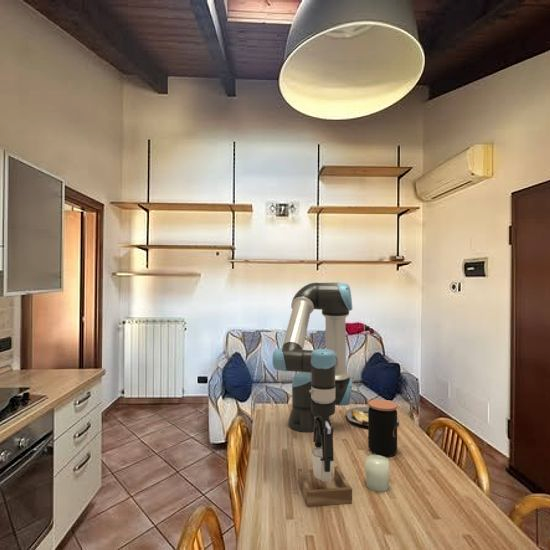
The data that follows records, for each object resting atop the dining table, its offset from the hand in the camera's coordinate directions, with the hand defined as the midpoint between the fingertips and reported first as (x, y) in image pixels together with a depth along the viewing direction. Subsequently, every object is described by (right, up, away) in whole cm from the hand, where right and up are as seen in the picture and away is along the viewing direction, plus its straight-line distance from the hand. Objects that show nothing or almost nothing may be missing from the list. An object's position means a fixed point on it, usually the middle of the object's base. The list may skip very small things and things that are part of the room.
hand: (322, 474), depth 112 cm
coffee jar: (+26, -6, +26) cm, 38 cm away
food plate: (+31, -7, +57) cm, 65 cm away
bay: (0, -5, 0) cm, 5 cm away
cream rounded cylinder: (+18, -5, +3) cm, 19 cm away
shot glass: (0, -1, 0) cm, 1 cm away
